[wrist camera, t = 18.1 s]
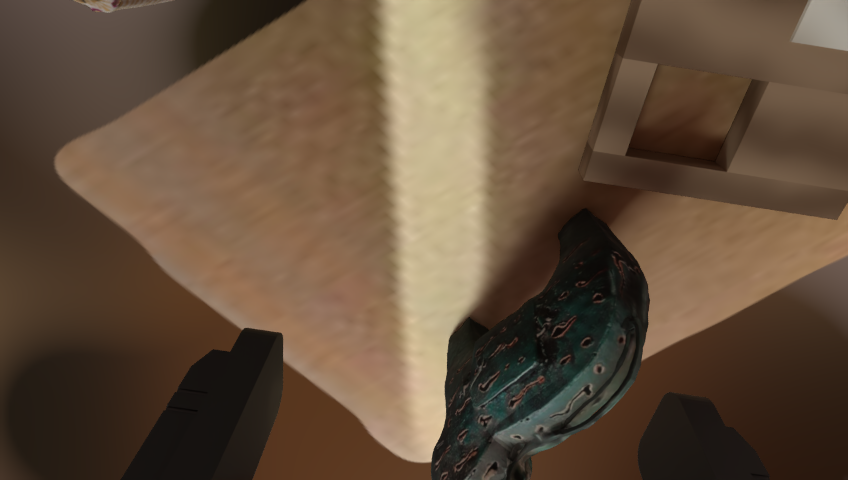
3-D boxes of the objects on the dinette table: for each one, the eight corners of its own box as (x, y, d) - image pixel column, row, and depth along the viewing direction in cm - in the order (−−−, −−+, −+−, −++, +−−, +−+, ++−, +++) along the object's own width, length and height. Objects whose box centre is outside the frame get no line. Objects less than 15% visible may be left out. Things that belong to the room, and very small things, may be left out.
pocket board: (685, -174, 30) (701, -181, 28) (1013, -119, 30) (1052, -122, 28) (578, 169, 40) (584, 182, 38) (820, 207, 41) (839, 221, 39)
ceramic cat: (474, 370, 51) (481, 591, 34) (420, 337, 50) (399, 553, 32) (630, 230, 43) (744, 432, 25) (571, 185, 41) (651, 368, 24)
